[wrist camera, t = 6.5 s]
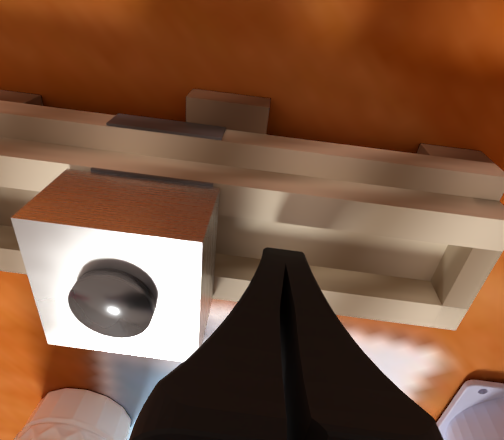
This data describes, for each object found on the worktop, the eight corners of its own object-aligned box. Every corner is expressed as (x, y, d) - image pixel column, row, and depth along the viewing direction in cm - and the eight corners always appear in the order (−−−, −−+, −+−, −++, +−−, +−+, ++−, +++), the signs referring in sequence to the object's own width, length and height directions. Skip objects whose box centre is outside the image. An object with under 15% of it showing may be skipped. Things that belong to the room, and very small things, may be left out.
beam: (492, 126, 14) (553, 170, 11) (412, 296, 19) (438, 362, 16) (-27, 60, 14) (-118, 84, 11) (26, 246, 19) (-27, 301, 16)
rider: (225, 169, 13) (199, 251, 9) (217, 275, 16) (194, 374, 12) (86, 151, 13) (0, 226, 9) (102, 260, 16) (41, 354, 12)
